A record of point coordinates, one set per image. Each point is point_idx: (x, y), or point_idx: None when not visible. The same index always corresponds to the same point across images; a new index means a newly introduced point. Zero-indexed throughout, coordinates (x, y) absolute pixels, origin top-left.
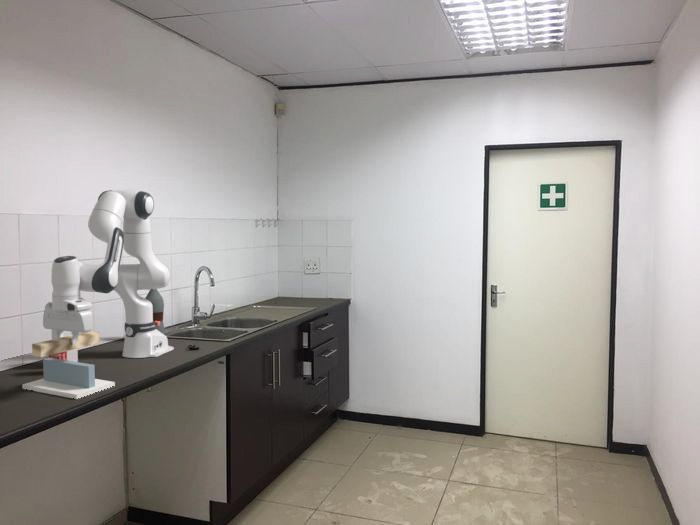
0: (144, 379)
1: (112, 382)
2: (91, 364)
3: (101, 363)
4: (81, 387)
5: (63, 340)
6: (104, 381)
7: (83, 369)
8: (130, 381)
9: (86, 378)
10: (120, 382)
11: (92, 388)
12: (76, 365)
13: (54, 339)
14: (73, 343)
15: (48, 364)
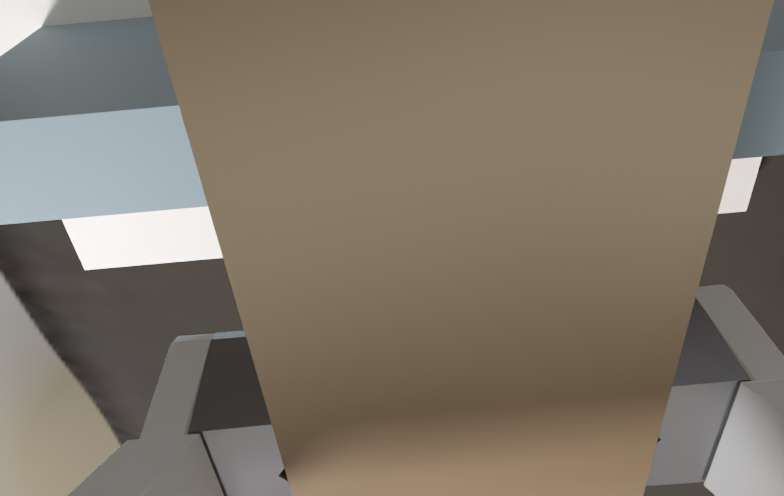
0: (113, 426)
1: (86, 254)
2: (11, 221)
3: (695, 486)
4: (136, 3)
5: (215, 230)
6: (172, 239)
7: (35, 97)
8: (139, 365)
9: (32, 58)
10: (172, 322)
11: (9, 42)
12: (164, 100)
13: (688, 133)
14: (179, 360)
15: (773, 26)
